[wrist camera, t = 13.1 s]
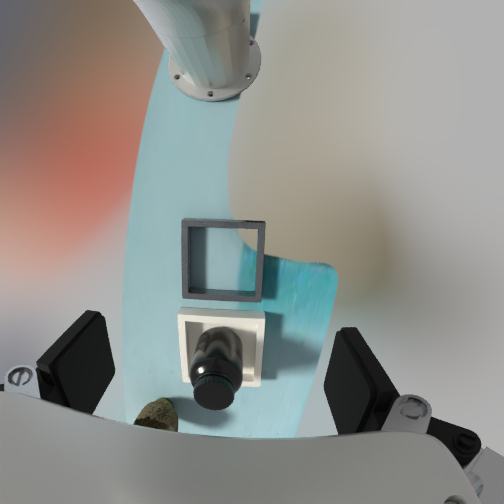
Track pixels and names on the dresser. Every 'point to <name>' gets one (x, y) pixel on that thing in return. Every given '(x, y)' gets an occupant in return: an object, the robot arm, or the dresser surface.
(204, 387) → the supplement bottle
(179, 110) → the dresser surface
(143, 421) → the olive rounded textured piece
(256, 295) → the frame
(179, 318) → the white square tray
